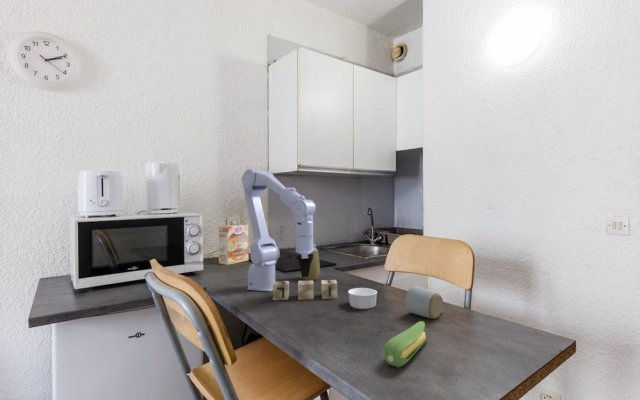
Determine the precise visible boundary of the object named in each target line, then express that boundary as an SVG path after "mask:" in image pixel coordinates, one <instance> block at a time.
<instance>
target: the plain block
mask: <svg viewBox="0 0 640 400" xmlns="http://www.w3.org/2000/svg"><path fill="white" fill-rule="evenodd" d="M314 286H315V285H314V280H311V281H309V280H298V283H297V290H298V293H297V295H298V296H297V297H298V299H297V300H301V301H302V300H314V298H315V297H314V294H315V293H314V292H315V291H314V290H315V289H314Z"/></svg>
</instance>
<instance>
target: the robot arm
mask: <svg viewBox="0 0 640 400" xmlns="http://www.w3.org/2000/svg"><path fill="white" fill-rule="evenodd" d="M241 181H242V186H243V187H242V188H243V193H244V200H245V204H246V208H247V213H248V217H249V220H250V225H251V230H252V234H253V238H254V240H253V242H252V243H251V244H250V245H249V247H250V254H249V255H250V260H251V262H252V263H251V264H250V266H249V267H248V271H247V288H246V289H247V290H249V291H261V292H273V283H274V281H276V264H277V261H278V259H279V258H280V256H281V255H280V249H279V247H278V246H277V244H276V243H277V242H276V241H275V240H274V238H272V237H270V235H269V234H270V233H269V230H268V226H267V223H266V218H265V213H264V210H263V204H262V201H261V195H262V194H264V192H265V191H266V190H267V189H268V188H269V189H270V190H272V191H273V192H275V194H277V195H278V196H279V197H280V198H279V199H280V201H281V202H282V203H283V204H285V206H287V207H289V209H290V210H291V211H292V215H293V216H294V221H295V242H296V243H295V245H296V247H295V252H296V253H297V255H296V260H297V262H298V265H299V268H300V269H299V270H301V271H300V273H301V277H302V278H303V277H308V276H309V270H310V265H311V262H312V259H313V254H309V253H312V252H314V251H317V250H318V249H317V247H316V248H313V244H314V215H315V214H316V213H317V205H316V203H315V201H314V200H313V199H306V197H305V195H302V194H300V193H299V192H298V191H297V189H296V188H295V187H286V186H285V185H283V183H281V182H280V181H279V180H278V179H277V178H276V177H275V176H274V174H273V173H272V172H270V171H269V170H261V169H260V170H259V169H252V168H248V169H246V170H245V171H244V172H243V175H242V177H241Z"/></svg>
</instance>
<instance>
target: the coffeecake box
mask: <svg viewBox="0 0 640 400" xmlns="http://www.w3.org/2000/svg"><path fill="white" fill-rule="evenodd" d="M247 261H249V224H243V223H242V224H241V223H240V224H239V223H238V224H230V225H227V224H226V225H218V264H219V265H220V264H221V265H225V266H228V265H233V264H237V263H243V262H247Z"/></svg>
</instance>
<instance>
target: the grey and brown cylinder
mask: <svg viewBox="0 0 640 400" xmlns="http://www.w3.org/2000/svg"><path fill="white" fill-rule="evenodd" d="M404 306H405V309H406V310H405V311H407V312H408V313H409V314H413V315H416V316H420V317H423V318H427V319H429V320H430V319H432V320H435V319H437V318H439V317H440V316H441V314H442V312H443V310H444V299H443V297H442V295H441V294H440V293H438V292H436V291H433V290H429V289H427V288H425V287H420V286H418V285H412V286H411V287H410V288H409V289H408V290H407V292H406V294H405V298H404Z"/></svg>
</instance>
